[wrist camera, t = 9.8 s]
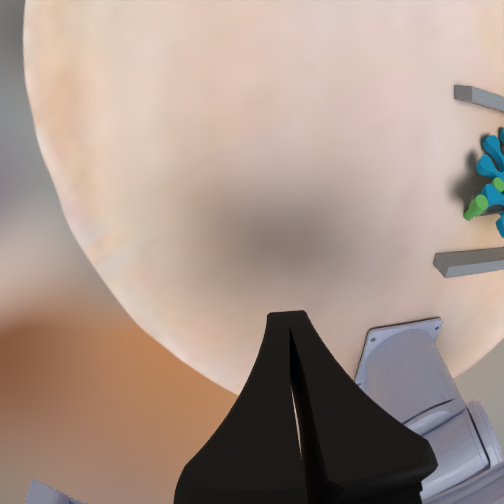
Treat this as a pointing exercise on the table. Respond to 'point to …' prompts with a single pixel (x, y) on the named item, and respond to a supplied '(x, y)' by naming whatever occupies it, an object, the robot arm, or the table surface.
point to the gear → (498, 191)
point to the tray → (474, 259)
